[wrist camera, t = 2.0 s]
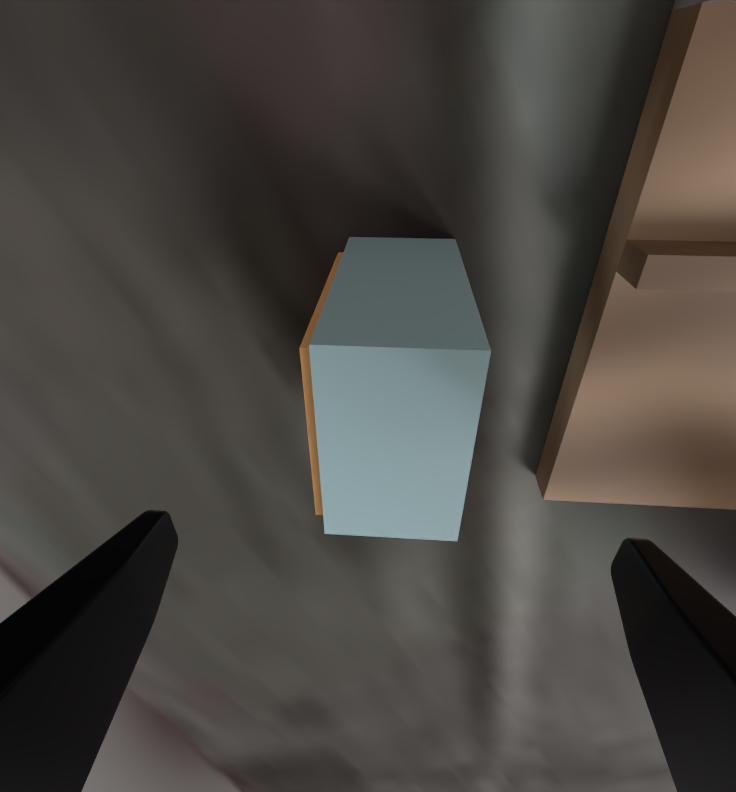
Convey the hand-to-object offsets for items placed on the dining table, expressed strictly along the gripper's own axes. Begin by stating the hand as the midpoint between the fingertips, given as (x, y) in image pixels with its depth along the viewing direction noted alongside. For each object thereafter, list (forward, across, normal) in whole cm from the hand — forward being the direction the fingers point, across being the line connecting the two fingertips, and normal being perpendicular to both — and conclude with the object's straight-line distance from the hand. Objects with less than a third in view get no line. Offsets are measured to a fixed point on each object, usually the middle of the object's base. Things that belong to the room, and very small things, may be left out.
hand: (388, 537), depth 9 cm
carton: (+10, 0, 0) cm, 10 cm away
